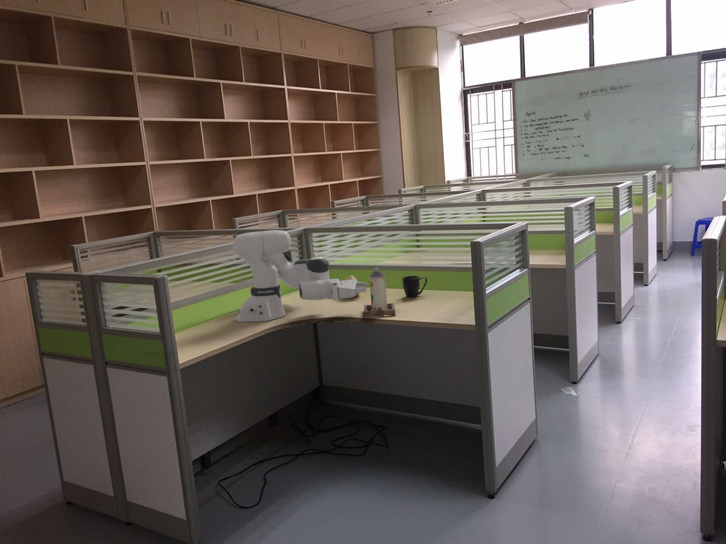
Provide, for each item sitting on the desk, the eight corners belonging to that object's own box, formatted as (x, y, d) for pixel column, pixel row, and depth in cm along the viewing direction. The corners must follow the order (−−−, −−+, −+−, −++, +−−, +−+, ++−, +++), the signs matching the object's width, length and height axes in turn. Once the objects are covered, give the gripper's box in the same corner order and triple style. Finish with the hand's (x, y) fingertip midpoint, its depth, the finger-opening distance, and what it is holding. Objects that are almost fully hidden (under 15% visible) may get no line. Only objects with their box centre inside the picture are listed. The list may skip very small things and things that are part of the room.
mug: (429, 296, 294) (428, 277, 293) (404, 299, 294) (403, 279, 292) (426, 293, 302) (425, 274, 301) (402, 295, 302) (401, 276, 300)
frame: (364, 317, 264) (363, 311, 263) (364, 310, 277) (364, 305, 276) (395, 315, 263) (395, 309, 263) (394, 308, 276) (393, 302, 276)
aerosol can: (372, 311, 274) (368, 267, 270) (387, 310, 273) (384, 266, 270) (372, 315, 267) (368, 269, 263) (387, 314, 267) (384, 268, 263)
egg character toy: (346, 300, 302) (344, 278, 300) (340, 295, 313) (338, 275, 311) (365, 297, 304) (363, 276, 303) (359, 293, 316) (357, 272, 314)
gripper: (337, 290, 280) (368, 288, 279) (334, 301, 260) (366, 299, 259) (336, 277, 279) (367, 275, 278) (332, 286, 258) (365, 284, 258)
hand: (366, 286), depth 268 cm, fingers open, 8 cm apart
